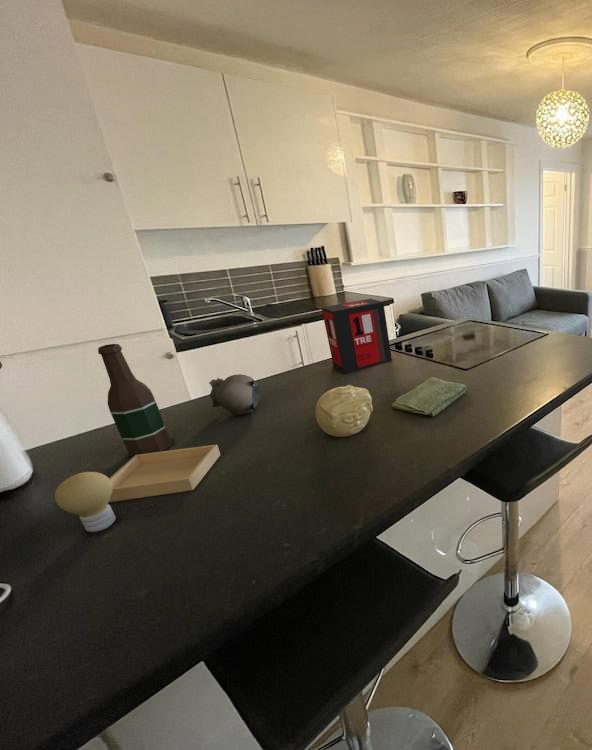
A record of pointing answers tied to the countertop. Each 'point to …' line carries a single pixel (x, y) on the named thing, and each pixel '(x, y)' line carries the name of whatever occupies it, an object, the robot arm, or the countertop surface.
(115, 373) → the beer bottle
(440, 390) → the washcloth
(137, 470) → the pale tray
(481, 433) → the countertop surface
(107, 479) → the light bulb
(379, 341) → the cleaning product box
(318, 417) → the sculpture
